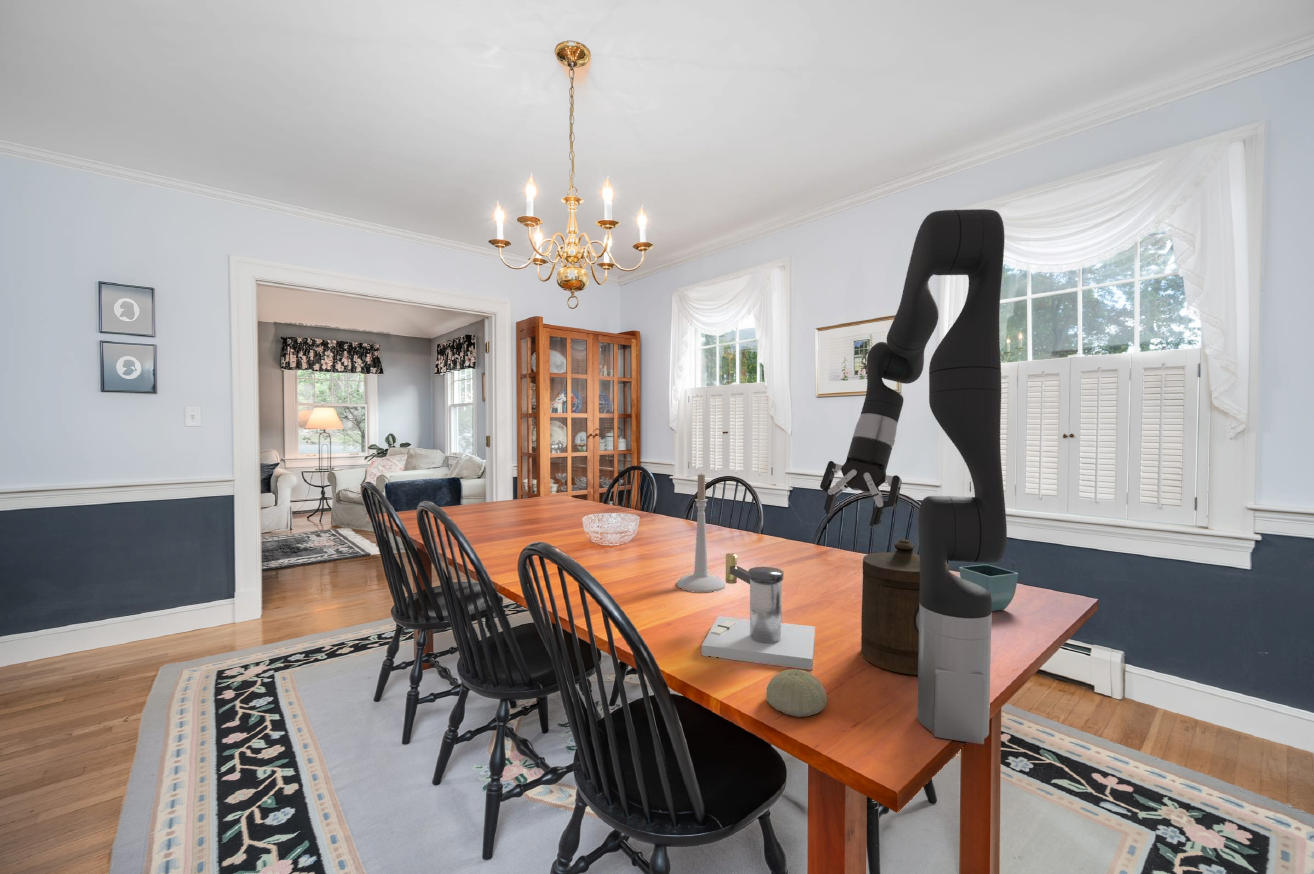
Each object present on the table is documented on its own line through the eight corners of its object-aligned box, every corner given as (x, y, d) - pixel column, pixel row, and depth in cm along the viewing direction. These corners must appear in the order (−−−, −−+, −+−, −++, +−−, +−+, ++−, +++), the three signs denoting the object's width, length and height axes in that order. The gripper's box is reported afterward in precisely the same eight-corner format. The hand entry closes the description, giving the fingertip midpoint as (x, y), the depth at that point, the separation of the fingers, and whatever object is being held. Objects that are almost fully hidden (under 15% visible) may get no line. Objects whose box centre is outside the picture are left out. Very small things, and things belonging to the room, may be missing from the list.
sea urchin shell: (750, 695, 86) (771, 648, 90) (770, 717, 90) (790, 671, 94) (803, 717, 80) (823, 666, 83) (822, 740, 84) (841, 690, 88)
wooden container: (946, 683, 93) (947, 551, 93) (854, 664, 101) (854, 542, 100) (951, 652, 106) (951, 536, 106) (869, 637, 113) (868, 529, 113)
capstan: (789, 639, 106) (790, 574, 106) (759, 644, 104) (760, 577, 103) (741, 608, 123) (742, 551, 123) (714, 612, 121) (715, 554, 121)
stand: (812, 670, 99) (812, 656, 99) (701, 655, 105) (701, 642, 105) (815, 636, 114) (815, 624, 114) (718, 625, 120) (718, 614, 120)
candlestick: (700, 595, 140) (700, 476, 139) (667, 584, 150) (667, 472, 149) (735, 586, 148) (735, 473, 147) (701, 575, 158) (701, 469, 157)
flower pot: (957, 603, 134) (957, 566, 134) (985, 599, 137) (986, 563, 136) (988, 616, 126) (989, 576, 125) (1018, 611, 128) (1019, 573, 128)
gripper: (831, 429, 110) (808, 507, 109) (907, 442, 102) (883, 528, 100) (842, 439, 116) (820, 514, 115) (914, 453, 108) (892, 534, 106)
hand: (850, 520), depth 107 cm, fingers open, 8 cm apart
